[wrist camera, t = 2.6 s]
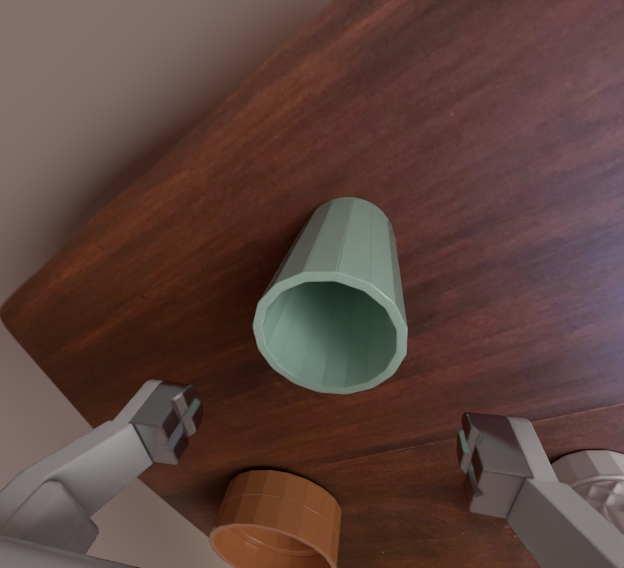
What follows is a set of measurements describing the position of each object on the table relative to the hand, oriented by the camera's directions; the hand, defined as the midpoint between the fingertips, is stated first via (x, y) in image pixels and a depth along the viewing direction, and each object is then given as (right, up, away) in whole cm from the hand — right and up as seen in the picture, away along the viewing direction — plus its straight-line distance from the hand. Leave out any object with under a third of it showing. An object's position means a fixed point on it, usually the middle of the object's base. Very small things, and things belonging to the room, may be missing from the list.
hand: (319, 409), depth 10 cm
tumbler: (+2, +7, +11) cm, 13 cm away
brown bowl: (-4, -23, +30) cm, 38 cm away
